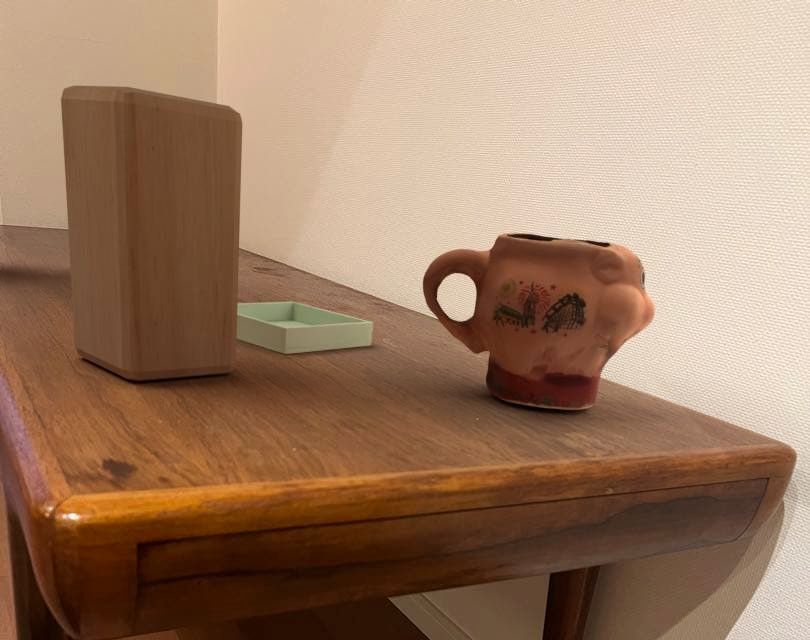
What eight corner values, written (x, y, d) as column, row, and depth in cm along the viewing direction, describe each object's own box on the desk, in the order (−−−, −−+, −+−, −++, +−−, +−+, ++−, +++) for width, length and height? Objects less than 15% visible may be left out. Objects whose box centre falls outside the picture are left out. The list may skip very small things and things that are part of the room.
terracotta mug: (418, 406, 63) (441, 224, 58) (404, 372, 74) (422, 216, 69) (651, 427, 66) (695, 254, 60) (604, 391, 77) (638, 242, 71)
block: (70, 356, 65) (54, 82, 57) (177, 350, 72) (176, 105, 64) (129, 385, 59) (120, 84, 51) (240, 375, 66) (248, 108, 58)
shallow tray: (204, 328, 83) (204, 304, 82) (292, 323, 92) (293, 301, 91) (284, 354, 76) (286, 328, 75) (371, 345, 85) (373, 322, 84)
